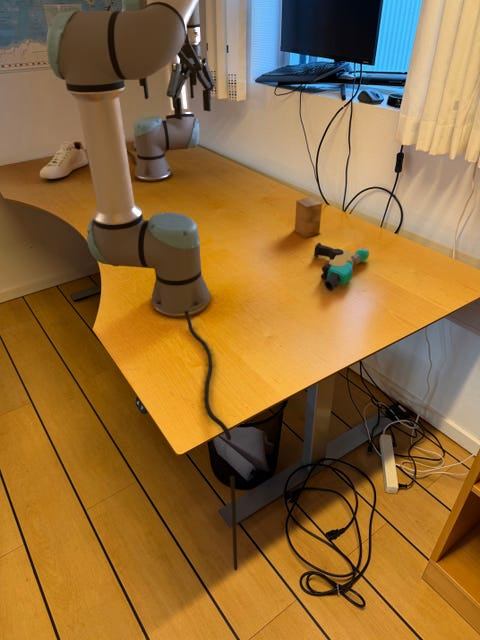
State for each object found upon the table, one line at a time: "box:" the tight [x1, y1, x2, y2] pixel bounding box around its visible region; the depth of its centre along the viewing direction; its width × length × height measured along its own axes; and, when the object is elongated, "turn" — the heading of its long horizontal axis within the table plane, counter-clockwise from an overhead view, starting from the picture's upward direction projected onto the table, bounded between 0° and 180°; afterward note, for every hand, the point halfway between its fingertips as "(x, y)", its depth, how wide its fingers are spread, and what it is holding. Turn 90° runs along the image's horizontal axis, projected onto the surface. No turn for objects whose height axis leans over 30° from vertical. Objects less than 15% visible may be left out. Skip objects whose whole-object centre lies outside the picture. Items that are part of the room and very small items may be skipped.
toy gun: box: [313, 242, 370, 292], centre depth 136 cm, size 4×26×15 cm
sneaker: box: [39, 141, 89, 180], centre depth 207 cm, size 10×29×12 cm, turn 163°
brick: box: [294, 196, 323, 238], centre depth 156 cm, size 6×6×11 cm
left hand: (193, 114), depth 162 cm, fingers open, 13 cm apart
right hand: (169, 97), depth 142 cm, fingers open, 13 cm apart
